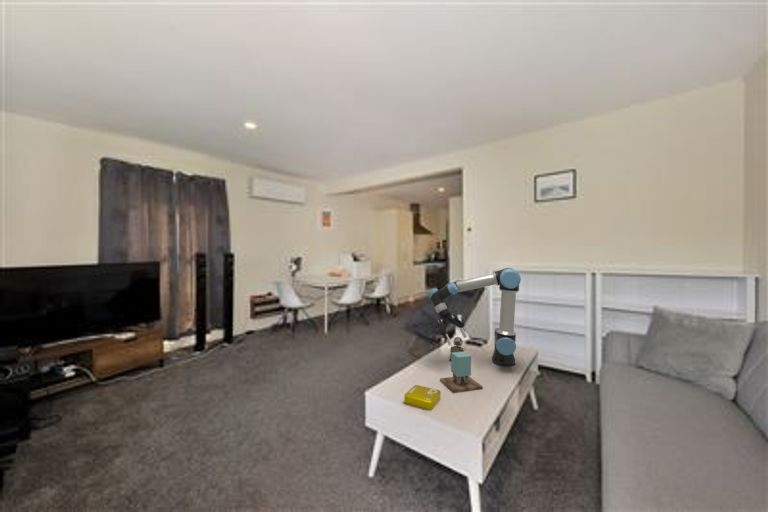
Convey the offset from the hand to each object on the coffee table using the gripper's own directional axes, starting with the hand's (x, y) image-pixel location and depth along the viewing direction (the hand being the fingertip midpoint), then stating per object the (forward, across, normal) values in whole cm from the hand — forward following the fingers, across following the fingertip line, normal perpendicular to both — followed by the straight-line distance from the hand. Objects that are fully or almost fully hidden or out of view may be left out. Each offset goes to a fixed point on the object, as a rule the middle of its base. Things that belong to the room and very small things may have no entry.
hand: (458, 340), depth 202 cm
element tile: (+22, +47, +11) cm, 53 cm away
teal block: (+18, +16, +9) cm, 26 cm away
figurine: (+10, -9, -22) cm, 26 cm away
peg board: (+23, +17, +5) cm, 29 cm away
